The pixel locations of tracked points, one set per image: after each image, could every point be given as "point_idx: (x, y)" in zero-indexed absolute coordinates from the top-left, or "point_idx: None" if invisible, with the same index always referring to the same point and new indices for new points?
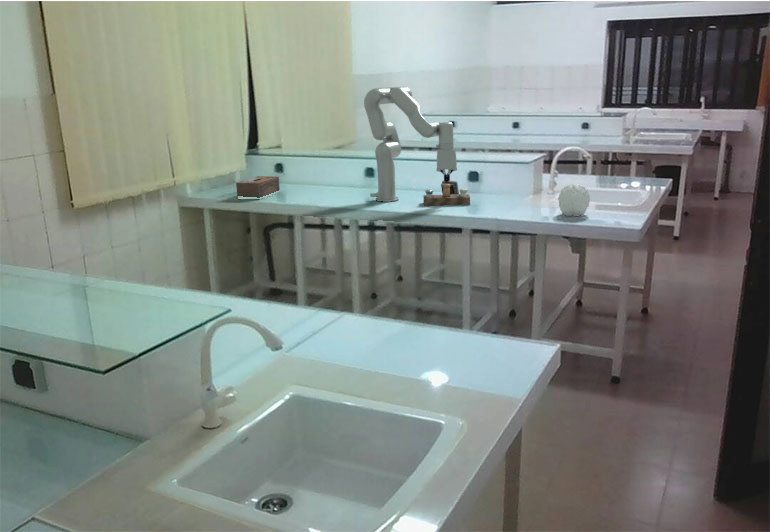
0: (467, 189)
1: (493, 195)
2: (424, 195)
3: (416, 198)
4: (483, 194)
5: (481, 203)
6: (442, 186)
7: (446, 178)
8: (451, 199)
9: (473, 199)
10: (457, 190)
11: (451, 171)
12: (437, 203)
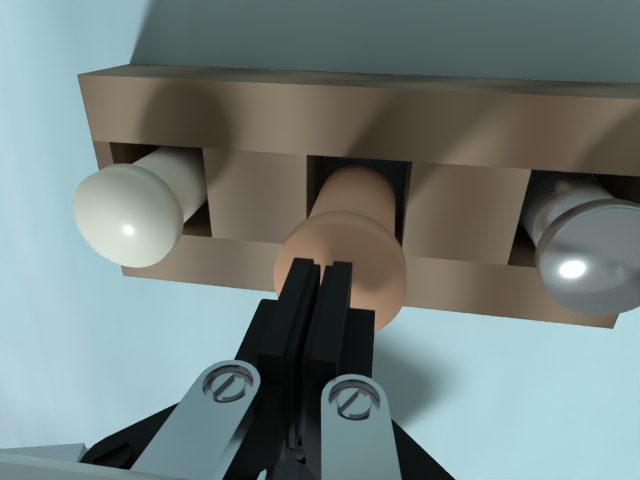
0: (74, 208)
1: (20, 400)
2: None
3: (581, 452)
4: (87, 441)
5: (37, 127)
6: (405, 264)
7: (322, 308)
8: (306, 81)
9: (130, 310)
10: None
11: (141, 443)
12: (483, 82)
